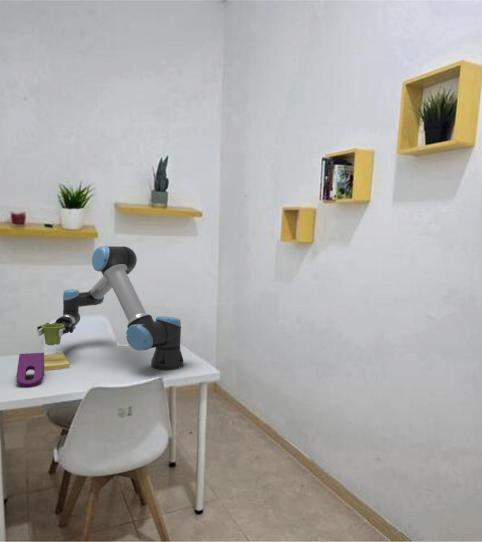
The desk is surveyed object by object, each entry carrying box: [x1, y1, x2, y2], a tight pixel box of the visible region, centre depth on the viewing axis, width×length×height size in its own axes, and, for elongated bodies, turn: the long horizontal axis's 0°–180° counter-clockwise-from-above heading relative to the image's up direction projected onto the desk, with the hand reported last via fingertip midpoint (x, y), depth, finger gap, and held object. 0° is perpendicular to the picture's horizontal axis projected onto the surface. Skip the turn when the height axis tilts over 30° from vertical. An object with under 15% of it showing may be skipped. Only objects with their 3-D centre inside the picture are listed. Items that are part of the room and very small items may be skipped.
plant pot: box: [42, 323, 64, 346], centre depth 194 cm, size 9×9×9 cm
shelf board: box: [44, 352, 71, 372], centre depth 196 cm, size 20×12×2 cm, turn 31°
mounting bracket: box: [15, 352, 45, 388], centre depth 174 cm, size 9×8×18 cm
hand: (49, 333), depth 189 cm, fingers closed on plant pot, 8 cm apart
